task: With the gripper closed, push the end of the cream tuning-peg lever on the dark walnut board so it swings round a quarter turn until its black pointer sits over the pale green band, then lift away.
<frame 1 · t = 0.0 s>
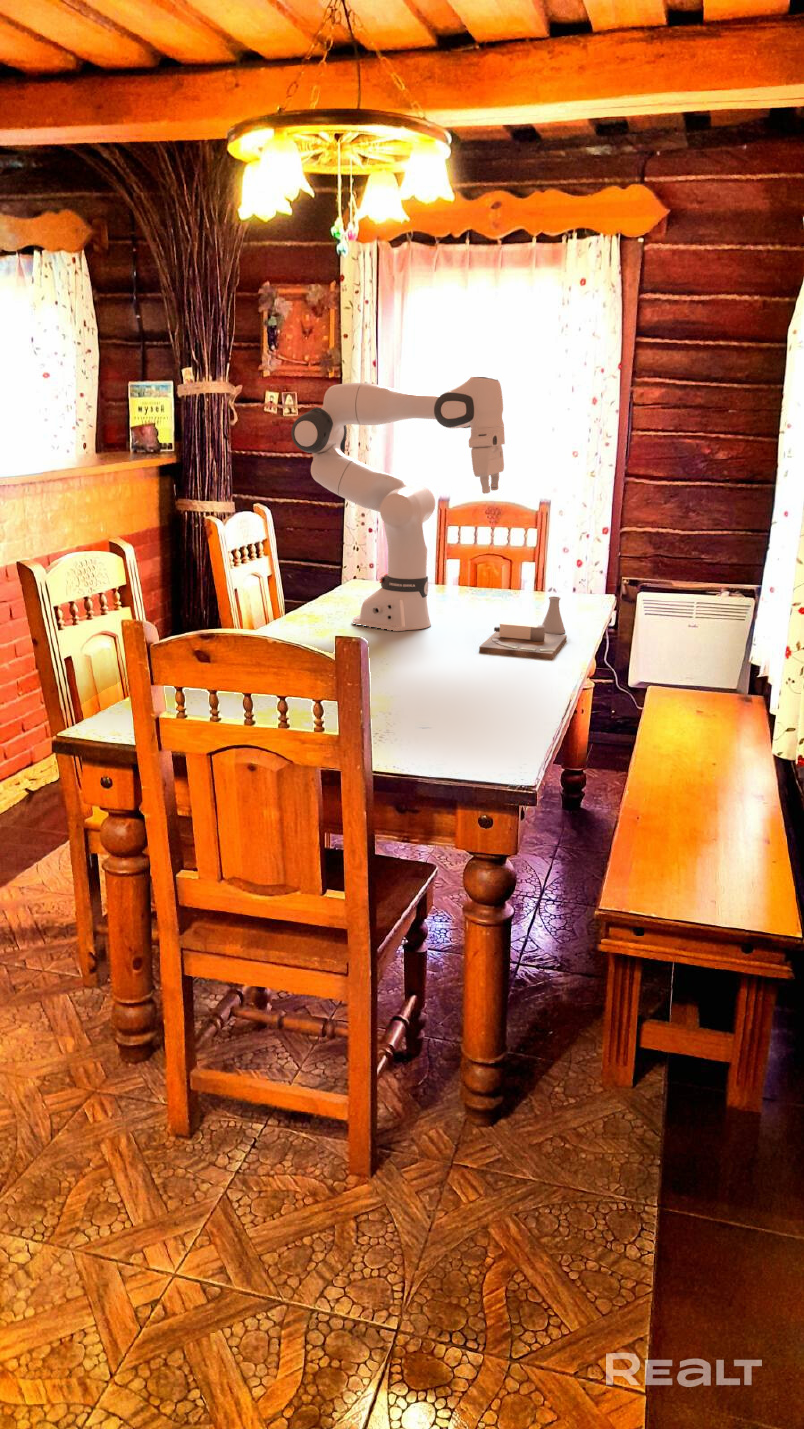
hand: (490, 491, 280), 39 cm above the table, tool pointing down, fingers open, 8 cm apart
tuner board: (523, 646, 277), on the table
peg lever: (519, 631, 278), point 4 cm above the table, hinge at 0.0°
flask: (552, 632, 294), on the table
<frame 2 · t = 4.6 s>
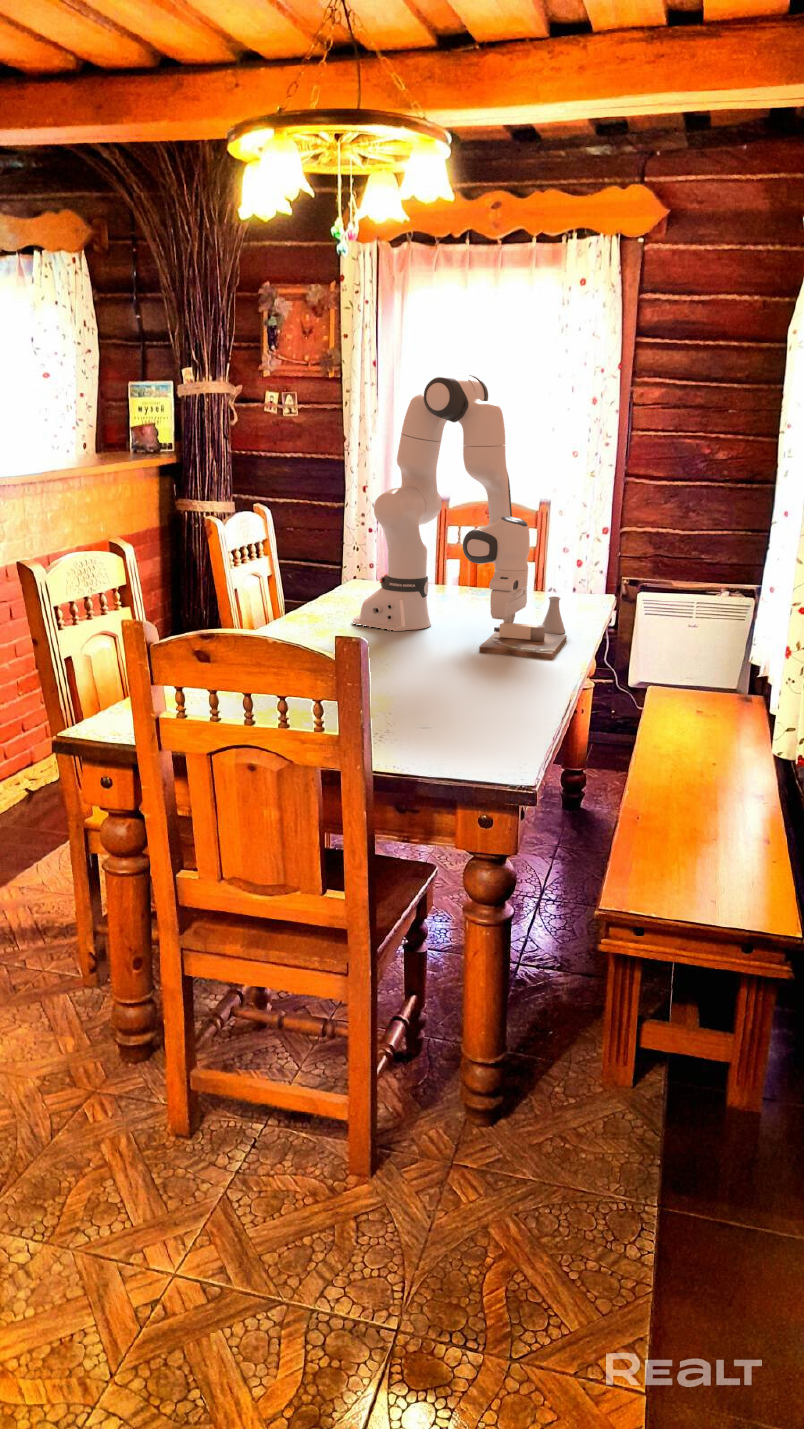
hand: (508, 629, 282), 3 cm above the table, tool pointing down, fingers closed
peg lever: (519, 631, 278), point 4 cm above the table, hinge at 1.1°, touching gripper
everything else where it was.
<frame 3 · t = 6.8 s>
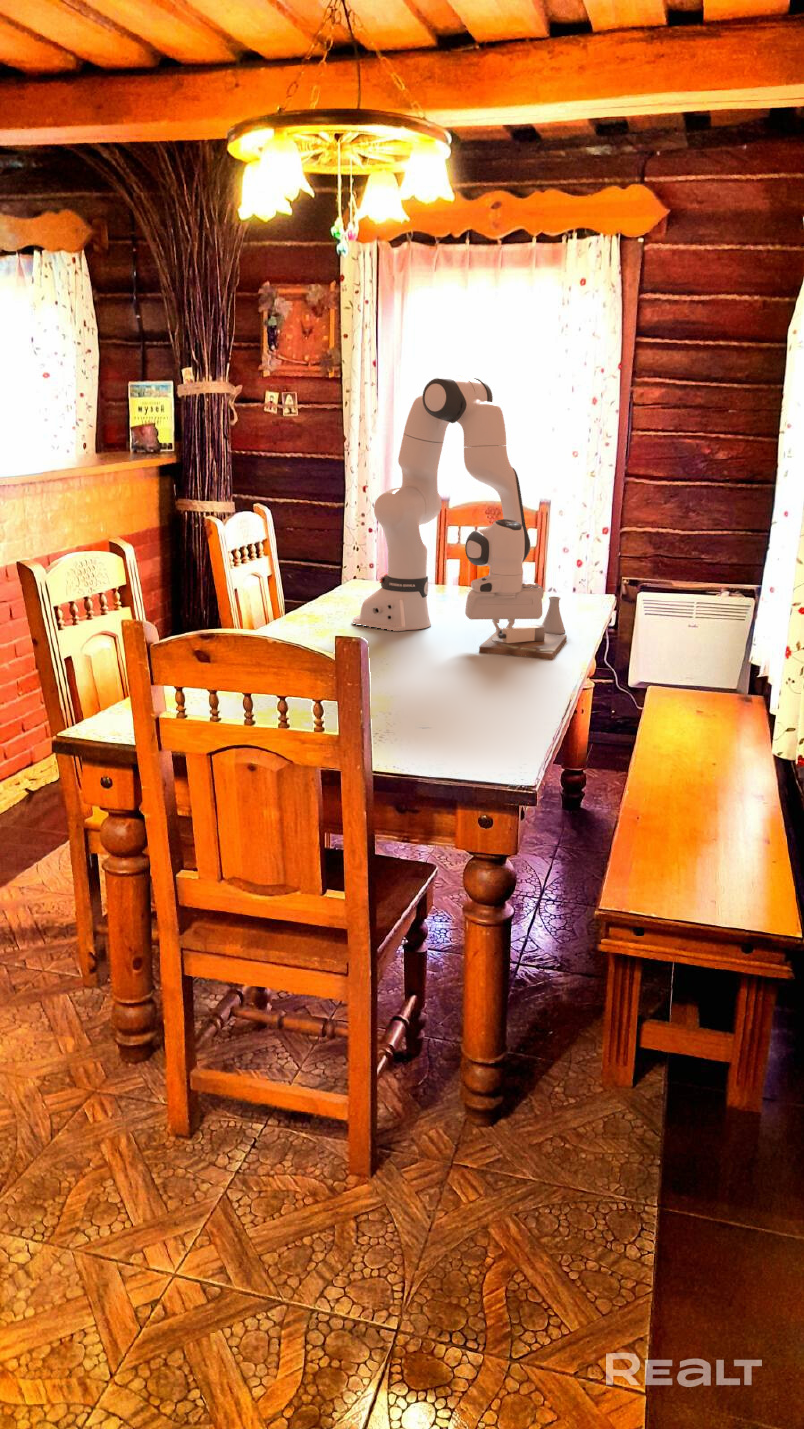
hand: (502, 635, 275), 3 cm above the table, tool pointing down, fingers closed
peg lever: (521, 634, 275), point 4 cm above the table, hinge at 43.7°, touching gripper
everything else where it was.
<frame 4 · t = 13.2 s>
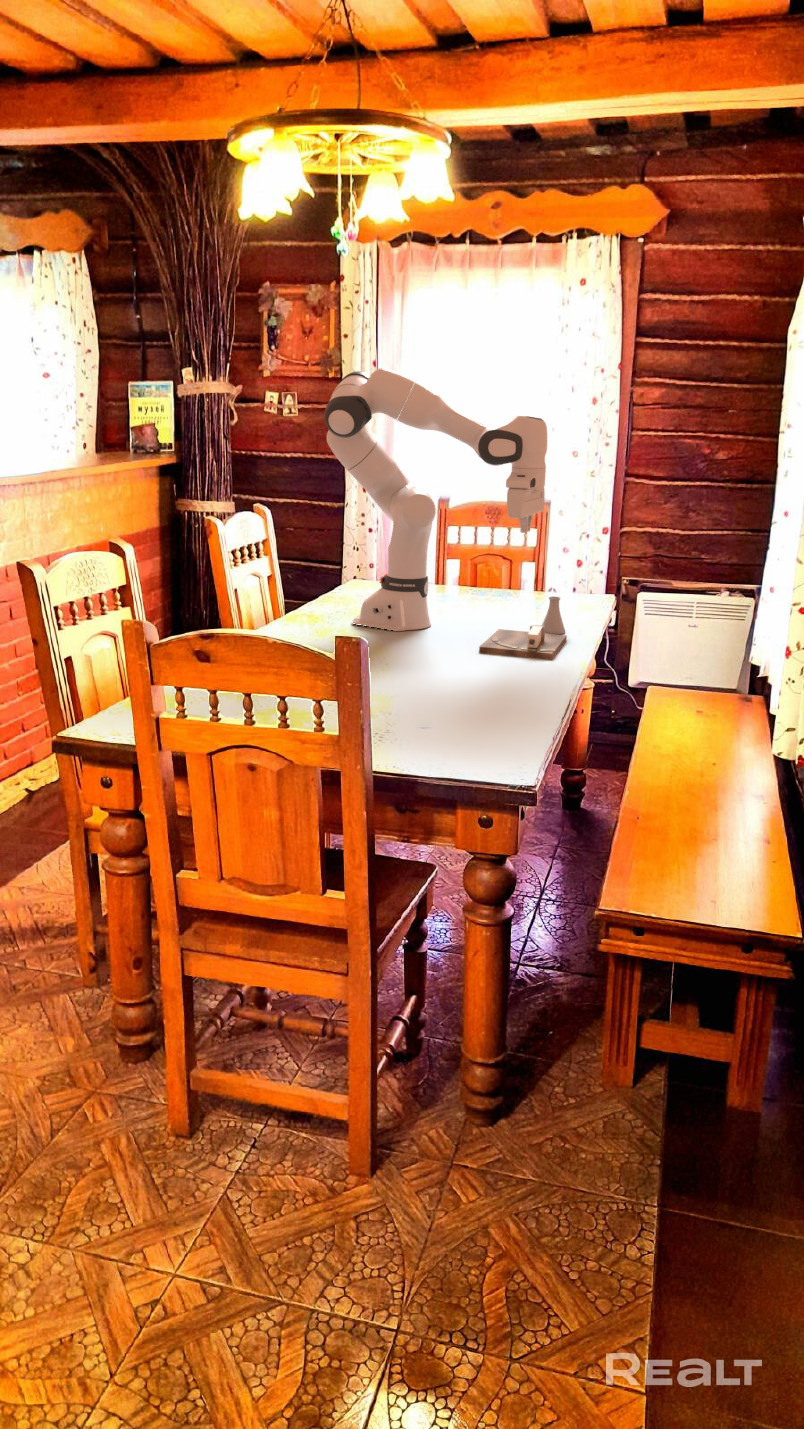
hand: (525, 532, 276), 29 cm above the table, tool pointing down, fingers closed
peg lever: (534, 636, 272), point 4 cm above the table, hinge at 93.9°
everything else where it was.
at the end: peg lever at +94° (first picture: +0°); peg lever touching nothing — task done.
